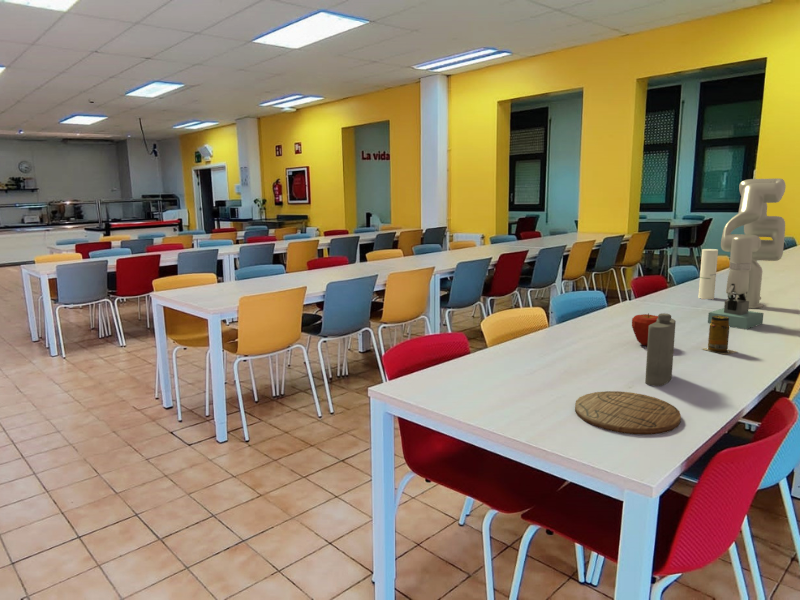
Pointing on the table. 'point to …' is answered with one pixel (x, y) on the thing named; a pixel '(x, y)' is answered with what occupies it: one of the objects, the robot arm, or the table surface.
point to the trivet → (627, 412)
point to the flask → (660, 350)
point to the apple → (642, 327)
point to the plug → (738, 307)
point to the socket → (739, 318)
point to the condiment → (719, 335)
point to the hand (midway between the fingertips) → (736, 308)
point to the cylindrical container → (708, 273)
